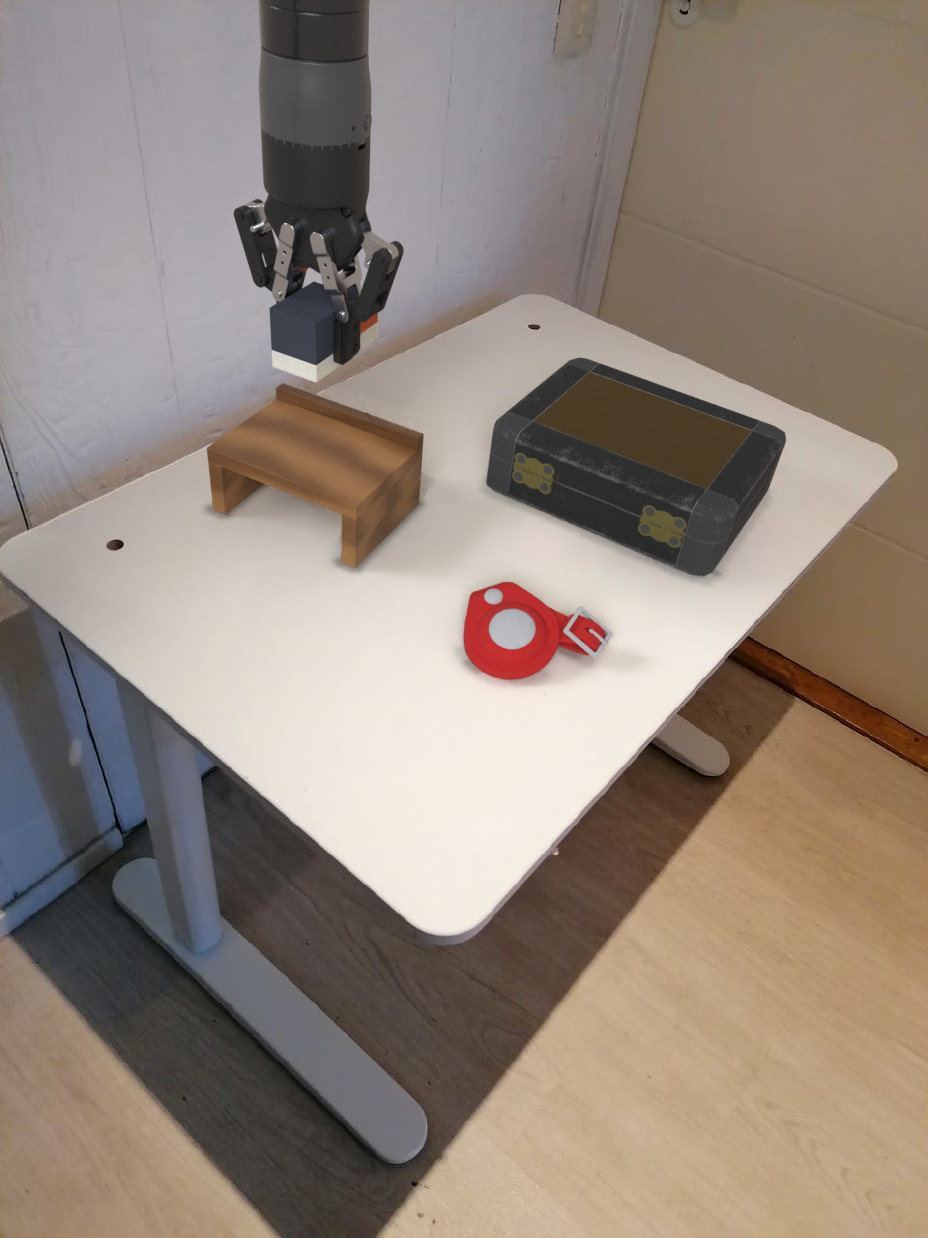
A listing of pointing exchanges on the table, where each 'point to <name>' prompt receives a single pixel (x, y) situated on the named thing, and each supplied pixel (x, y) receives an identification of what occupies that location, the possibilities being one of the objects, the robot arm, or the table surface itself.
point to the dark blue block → (309, 333)
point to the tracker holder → (524, 632)
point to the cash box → (635, 463)
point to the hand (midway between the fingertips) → (319, 350)
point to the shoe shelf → (323, 465)
